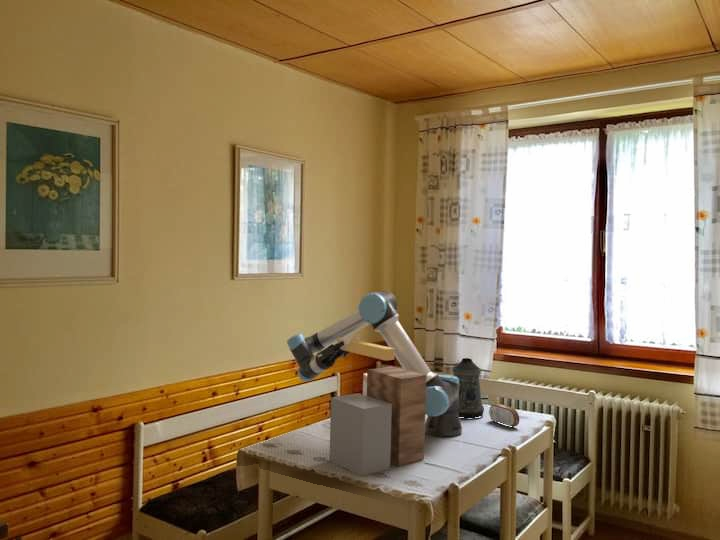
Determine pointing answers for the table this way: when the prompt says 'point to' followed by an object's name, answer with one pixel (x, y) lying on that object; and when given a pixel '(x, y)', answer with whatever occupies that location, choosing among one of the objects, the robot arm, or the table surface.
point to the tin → (504, 414)
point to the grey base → (360, 433)
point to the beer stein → (468, 389)
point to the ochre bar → (369, 349)
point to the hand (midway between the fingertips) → (354, 339)
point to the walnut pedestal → (402, 410)
